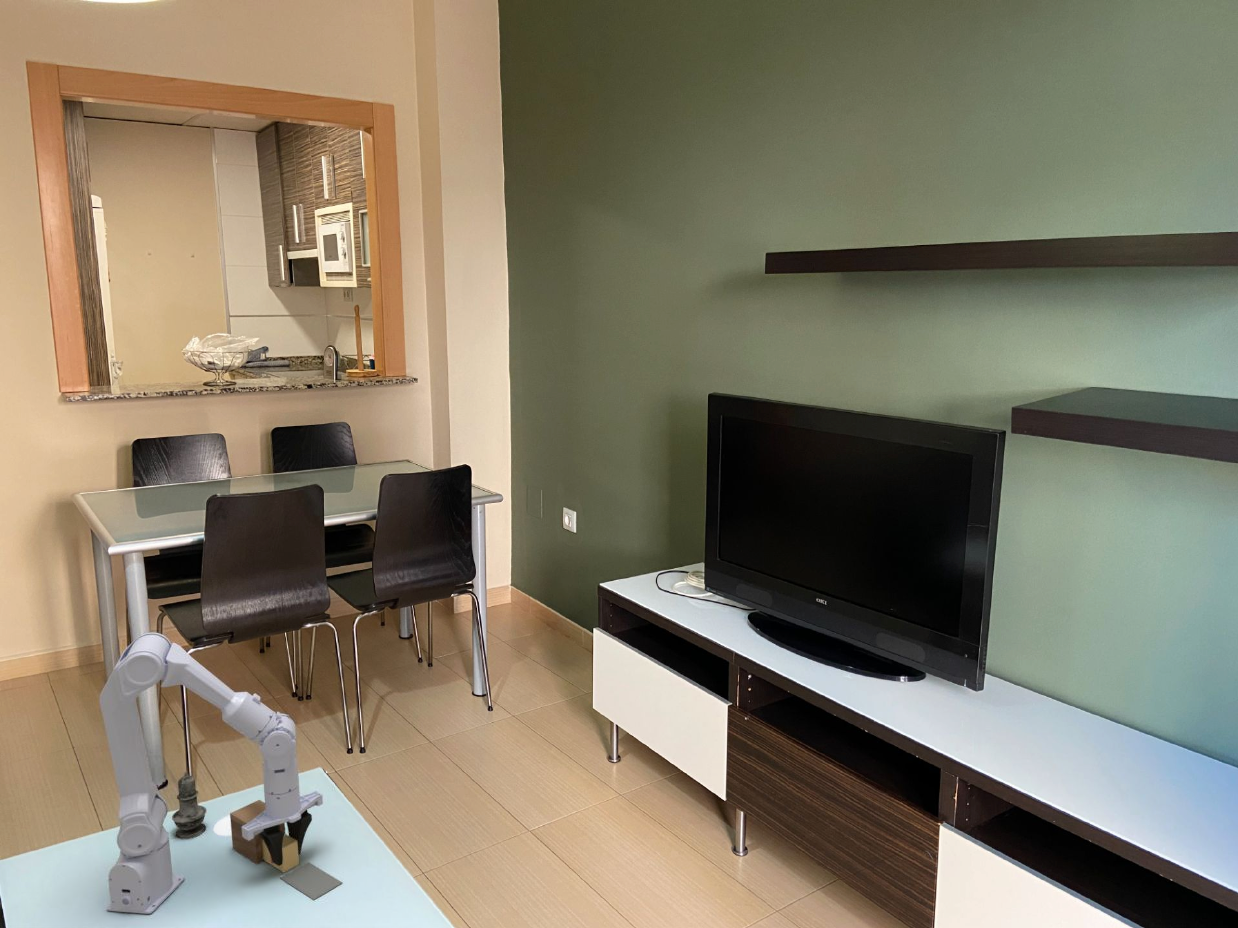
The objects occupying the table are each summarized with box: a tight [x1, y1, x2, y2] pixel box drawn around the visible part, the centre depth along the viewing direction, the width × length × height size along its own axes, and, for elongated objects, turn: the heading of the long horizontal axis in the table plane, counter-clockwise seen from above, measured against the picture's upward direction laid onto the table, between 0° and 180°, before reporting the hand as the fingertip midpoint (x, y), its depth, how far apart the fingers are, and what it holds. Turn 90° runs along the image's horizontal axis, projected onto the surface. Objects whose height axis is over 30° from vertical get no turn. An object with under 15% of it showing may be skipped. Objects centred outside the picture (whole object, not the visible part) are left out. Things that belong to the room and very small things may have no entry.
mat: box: [280, 862, 343, 901], centre depth 154 cm, size 6×10×1 cm, turn 53°
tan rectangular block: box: [260, 832, 300, 873], centre depth 160 cm, size 3×12×4 cm, turn 53°
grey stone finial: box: [171, 771, 207, 840], centre depth 168 cm, size 6×6×12 cm
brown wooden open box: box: [229, 799, 286, 865], centre depth 163 cm, size 6×8×7 cm
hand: (286, 857), depth 158 cm, fingers closed on tan rectangular block, 3 cm apart
